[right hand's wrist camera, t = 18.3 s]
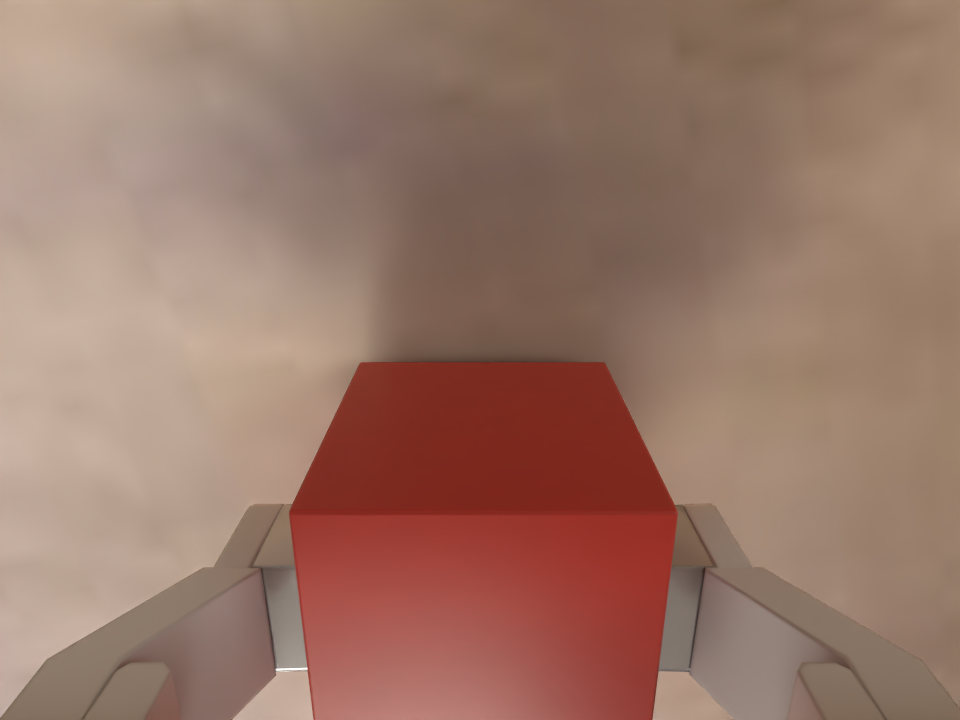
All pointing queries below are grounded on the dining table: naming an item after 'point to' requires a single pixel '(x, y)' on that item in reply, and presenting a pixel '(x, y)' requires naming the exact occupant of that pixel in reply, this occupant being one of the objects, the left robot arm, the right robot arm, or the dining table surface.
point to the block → (483, 547)
